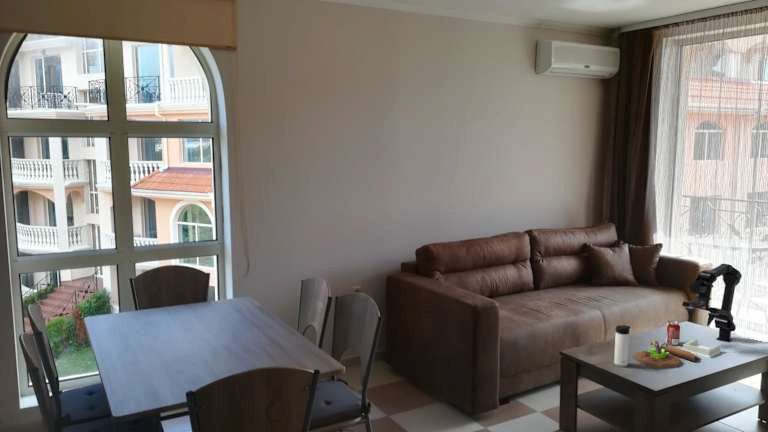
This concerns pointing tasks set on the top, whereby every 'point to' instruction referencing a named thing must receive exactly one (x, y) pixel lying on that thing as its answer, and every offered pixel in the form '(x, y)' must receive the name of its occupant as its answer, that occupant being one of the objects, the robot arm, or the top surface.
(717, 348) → the can rack
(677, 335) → the soda can
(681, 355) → the sunglasses case
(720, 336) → the robot arm
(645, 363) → the plant
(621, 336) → the travel mug
